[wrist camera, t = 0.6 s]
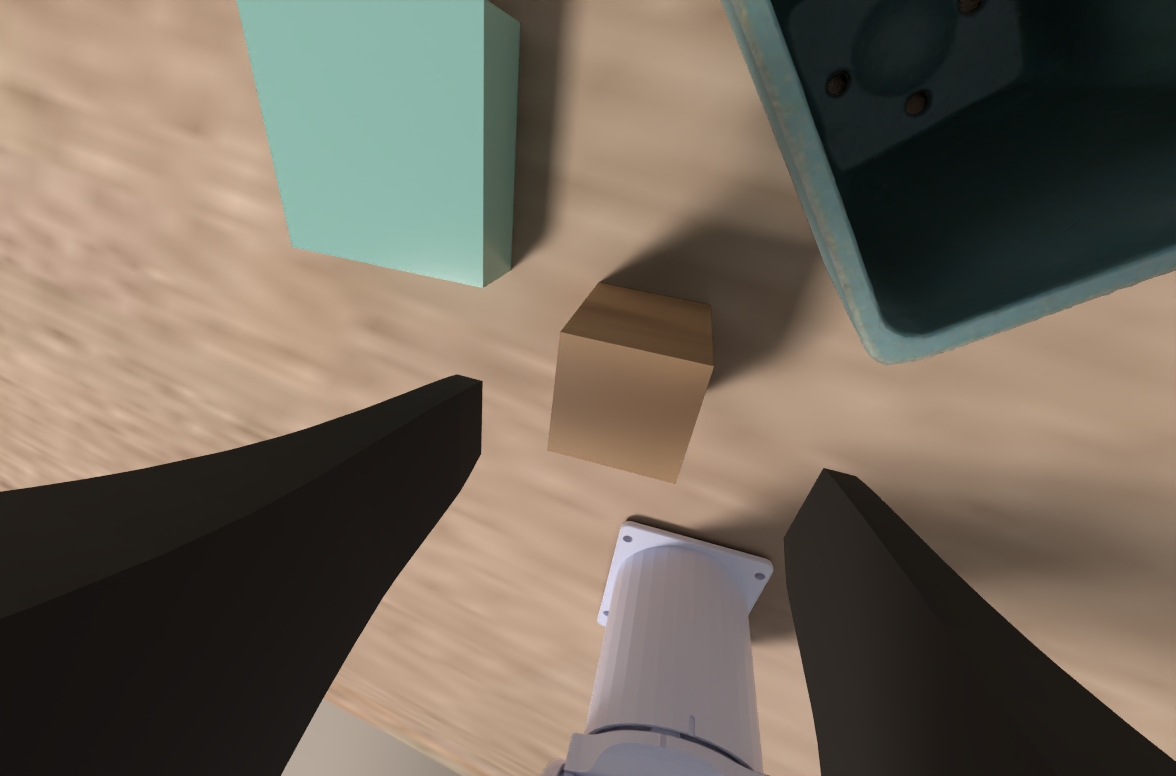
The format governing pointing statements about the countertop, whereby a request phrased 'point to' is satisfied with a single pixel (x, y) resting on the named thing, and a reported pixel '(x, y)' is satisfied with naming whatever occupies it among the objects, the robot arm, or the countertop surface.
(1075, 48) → the flower pot
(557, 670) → the countertop surface
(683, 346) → the walnut block
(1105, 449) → the countertop surface
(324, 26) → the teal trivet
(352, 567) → the robot arm
